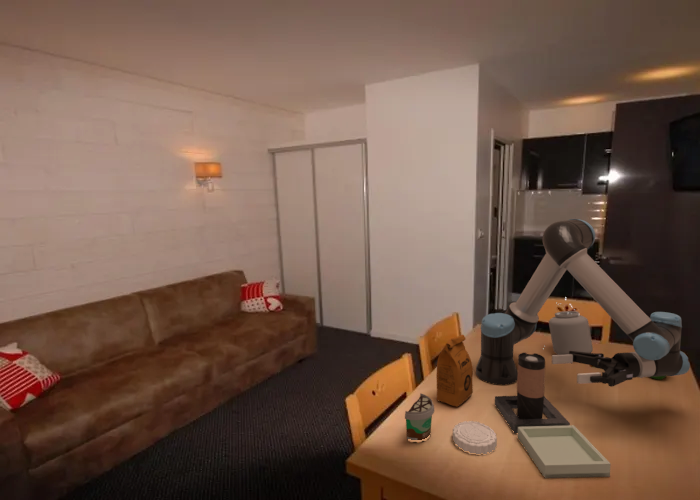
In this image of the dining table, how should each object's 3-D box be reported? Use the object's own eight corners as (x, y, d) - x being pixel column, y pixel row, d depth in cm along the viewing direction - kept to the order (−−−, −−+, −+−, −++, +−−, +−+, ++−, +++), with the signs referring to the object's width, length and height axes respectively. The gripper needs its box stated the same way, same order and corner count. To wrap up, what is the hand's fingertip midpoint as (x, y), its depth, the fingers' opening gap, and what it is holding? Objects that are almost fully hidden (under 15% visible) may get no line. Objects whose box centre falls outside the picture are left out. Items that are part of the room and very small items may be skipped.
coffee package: (477, 397, 134) (478, 336, 131) (457, 411, 126) (457, 347, 123) (452, 387, 142) (453, 329, 139) (432, 400, 134) (432, 339, 131)
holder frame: (494, 404, 129) (494, 396, 129) (542, 403, 129) (543, 395, 129) (514, 433, 114) (514, 424, 113) (569, 432, 113) (569, 423, 113)
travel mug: (532, 427, 116) (534, 364, 114) (510, 415, 123) (512, 355, 120) (548, 420, 120) (551, 358, 117) (527, 408, 127) (529, 350, 124)
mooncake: (443, 438, 113) (443, 427, 113) (473, 425, 119) (473, 414, 118) (475, 462, 103) (475, 449, 102) (506, 446, 108) (506, 435, 108)
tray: (517, 438, 112) (517, 426, 111) (573, 436, 111) (573, 425, 111) (544, 478, 96) (545, 465, 95) (609, 476, 96) (610, 463, 95)
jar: (536, 351, 171) (538, 296, 168) (555, 343, 179) (558, 290, 175) (580, 366, 155) (583, 305, 152) (599, 357, 163) (602, 299, 159)
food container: (425, 451, 107) (425, 417, 106) (405, 444, 111) (404, 411, 109) (440, 428, 118) (440, 397, 116) (421, 422, 121) (421, 392, 120)
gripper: (665, 396, 108) (590, 400, 107) (604, 360, 132) (543, 363, 132) (666, 370, 107) (590, 375, 106) (605, 338, 131) (543, 342, 131)
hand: (564, 368), depth 119 cm, fingers open, 13 cm apart
